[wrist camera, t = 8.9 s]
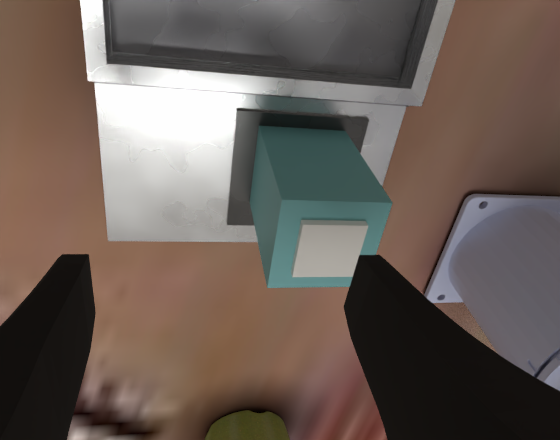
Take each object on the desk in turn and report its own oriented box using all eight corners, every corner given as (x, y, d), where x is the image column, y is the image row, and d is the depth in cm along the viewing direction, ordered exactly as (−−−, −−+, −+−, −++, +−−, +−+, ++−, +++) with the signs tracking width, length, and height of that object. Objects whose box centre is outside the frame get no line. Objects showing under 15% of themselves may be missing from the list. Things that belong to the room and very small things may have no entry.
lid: (404, 88, 22) (411, 95, 21) (361, 235, 26) (366, 245, 26) (95, 62, 19) (92, 70, 18) (109, 232, 23) (107, 243, 23)
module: (345, 130, 21) (395, 207, 16) (328, 204, 24) (367, 291, 19) (258, 125, 20) (283, 204, 15) (249, 202, 23) (268, 293, 18)
